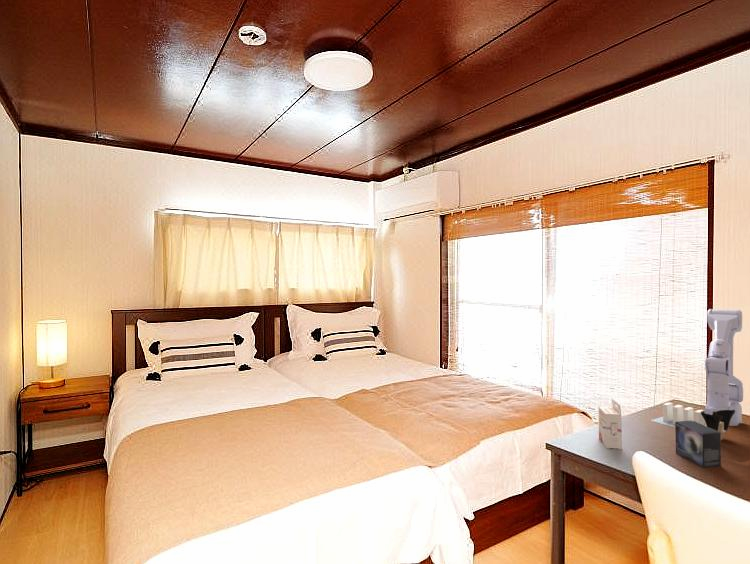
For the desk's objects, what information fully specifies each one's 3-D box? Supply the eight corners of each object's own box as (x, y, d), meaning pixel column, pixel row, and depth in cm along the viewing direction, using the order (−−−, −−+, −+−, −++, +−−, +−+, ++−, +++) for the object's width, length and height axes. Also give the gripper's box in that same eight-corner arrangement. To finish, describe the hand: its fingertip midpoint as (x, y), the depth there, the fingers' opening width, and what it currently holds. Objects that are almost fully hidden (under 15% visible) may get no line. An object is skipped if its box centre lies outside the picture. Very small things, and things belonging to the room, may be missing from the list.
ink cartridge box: (597, 438, 148) (597, 397, 147) (613, 439, 147) (612, 397, 146) (606, 448, 139) (605, 404, 139) (622, 449, 138) (622, 405, 138)
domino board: (666, 417, 169) (666, 415, 169) (726, 432, 151) (726, 430, 151) (649, 422, 163) (649, 420, 163) (711, 439, 145) (711, 437, 145)
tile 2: (700, 426, 155) (699, 409, 155) (704, 428, 154) (704, 410, 154) (694, 429, 153) (694, 411, 153) (698, 430, 152) (698, 412, 152)
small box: (673, 453, 135) (673, 420, 135) (692, 452, 136) (692, 419, 135) (702, 468, 124) (701, 432, 124) (722, 466, 125) (722, 431, 125)
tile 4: (678, 421, 161) (678, 404, 161) (683, 422, 160) (683, 405, 160) (672, 423, 159) (672, 406, 159) (677, 424, 158) (677, 407, 158)
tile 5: (668, 418, 164) (668, 402, 164) (672, 419, 163) (672, 403, 163) (662, 420, 162) (662, 404, 162) (667, 422, 161) (666, 405, 161)
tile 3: (689, 424, 158) (689, 407, 158) (693, 425, 157) (693, 408, 157) (683, 426, 156) (683, 409, 156) (687, 427, 155) (687, 410, 155)
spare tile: (718, 439, 145) (718, 421, 145) (723, 441, 144) (723, 422, 144) (712, 442, 143) (712, 423, 143) (717, 443, 142) (717, 424, 142)
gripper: (722, 398, 136) (722, 439, 136) (741, 391, 143) (742, 431, 144) (697, 393, 142) (697, 433, 142) (717, 387, 150) (717, 425, 150)
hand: (718, 431), depth 143 cm, fingers open, 7 cm apart
